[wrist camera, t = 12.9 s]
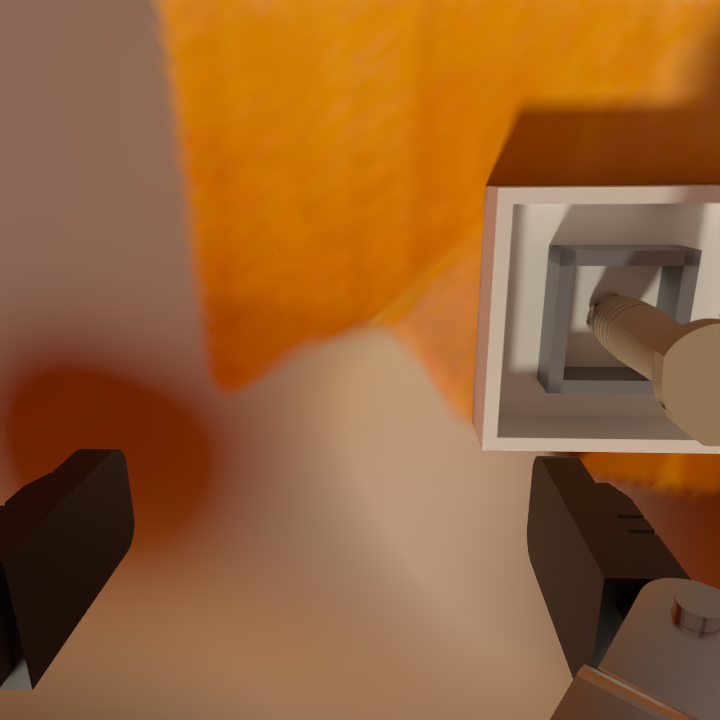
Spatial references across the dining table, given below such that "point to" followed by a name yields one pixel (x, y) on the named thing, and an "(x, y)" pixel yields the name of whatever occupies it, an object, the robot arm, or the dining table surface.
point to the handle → (666, 359)
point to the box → (585, 310)
